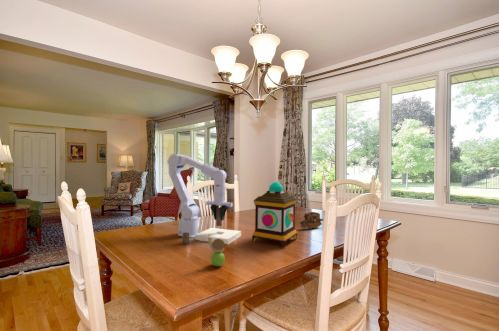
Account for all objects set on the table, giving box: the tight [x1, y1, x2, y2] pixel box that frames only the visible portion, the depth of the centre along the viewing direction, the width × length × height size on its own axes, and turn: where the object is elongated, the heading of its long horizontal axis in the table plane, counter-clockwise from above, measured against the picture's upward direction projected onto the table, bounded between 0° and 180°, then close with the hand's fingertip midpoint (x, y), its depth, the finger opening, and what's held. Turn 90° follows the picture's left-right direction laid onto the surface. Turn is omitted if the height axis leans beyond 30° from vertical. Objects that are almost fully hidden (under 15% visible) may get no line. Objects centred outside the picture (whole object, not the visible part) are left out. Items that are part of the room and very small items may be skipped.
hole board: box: [195, 227, 242, 245], centre depth 136 cm, size 18×16×2 cm
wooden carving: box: [299, 211, 324, 229], centre depth 158 cm, size 16×5×10 cm, turn 120°
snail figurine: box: [208, 234, 226, 267], centre depth 99 cm, size 5×6×12 cm
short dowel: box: [182, 232, 190, 246], centre depth 125 cm, size 3×3×5 cm
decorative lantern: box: [251, 180, 298, 249], centre depth 132 cm, size 20×20×30 cm
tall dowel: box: [215, 207, 223, 227], centre depth 135 cm, size 3×3×9 cm
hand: (219, 219), depth 135 cm, fingers closed on tall dowel, 3 cm apart
